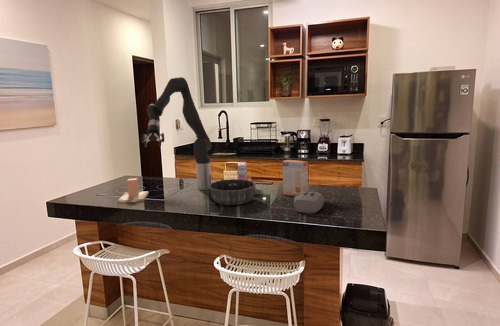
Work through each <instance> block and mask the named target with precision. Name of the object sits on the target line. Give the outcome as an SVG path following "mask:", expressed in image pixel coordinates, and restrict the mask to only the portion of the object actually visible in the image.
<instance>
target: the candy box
mask: <svg viewBox="0 0 500 326" xmlns="http://www.w3.org/2000/svg"><path fill="white" fill-rule="evenodd" d="M247 163H248V162H247V161H239V162H237V165H236V167H237V172H236V173H237V179H244V180H248V167H247Z"/></svg>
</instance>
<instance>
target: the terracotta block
mask: <svg viewBox="0 0 500 326" xmlns="http://www.w3.org/2000/svg"><path fill="white" fill-rule="evenodd" d="M126 183H127V192H128V196H129V197H136V196H138V195H139V192H140V190H139V189H140V188H139V178H138V177H136V178H135V177H133V178H128V179H127V180H126Z"/></svg>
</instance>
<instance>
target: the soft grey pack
mask: <svg viewBox="0 0 500 326" xmlns="http://www.w3.org/2000/svg"><path fill="white" fill-rule="evenodd" d="M292 203H293V207H294V208H293V209H294V210H295V211H296V212H298V213H303V214H315V213H318V212H319V211H320V210H322V208H323V207H324V205H325V197H324V195H323V194H322V193H320V192H316V191H308V192H303V193H300V194H299V195H298V196H296V197H293V202H292Z"/></svg>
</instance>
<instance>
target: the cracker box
mask: <svg viewBox="0 0 500 326" xmlns="http://www.w3.org/2000/svg"><path fill="white" fill-rule="evenodd" d="M308 165H309V163H308V161H307V160H306V161H304V160H294V159H286V160H285V159H284V160H282V195H283V196H287V197H293V198H295V197H296V196H298V195H299V194H300V193H303V192H309V191H308V188H309V187H308V185H309V184H308V181H309V180H308V175H309V172H308V171H309V170H308V169H309V167H308Z"/></svg>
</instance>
